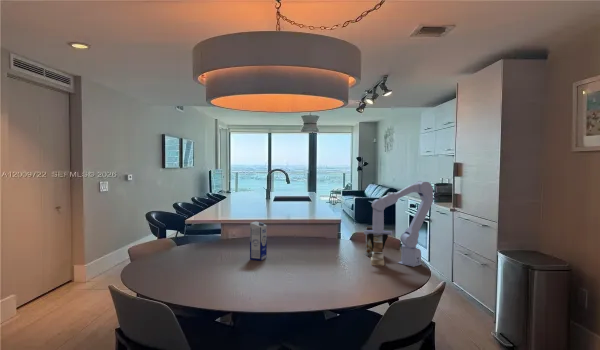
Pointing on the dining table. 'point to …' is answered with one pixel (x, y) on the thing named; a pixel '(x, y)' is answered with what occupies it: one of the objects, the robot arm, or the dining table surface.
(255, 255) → the milk carton
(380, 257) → the top block
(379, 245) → the walnut block
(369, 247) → the coffee box
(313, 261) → the dining table surface
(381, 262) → the base block
